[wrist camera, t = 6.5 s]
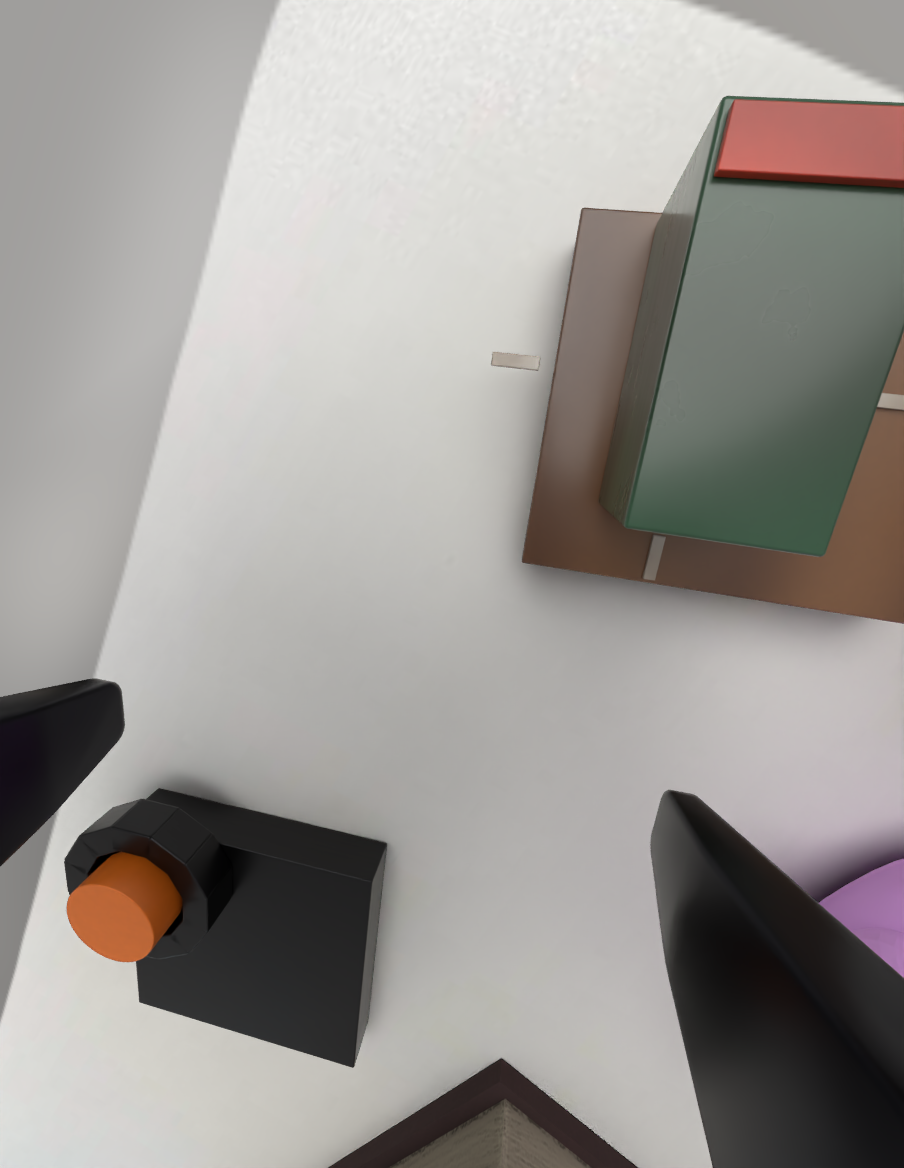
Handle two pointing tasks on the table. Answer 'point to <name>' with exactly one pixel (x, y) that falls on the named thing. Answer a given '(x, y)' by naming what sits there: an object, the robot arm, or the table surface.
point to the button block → (253, 919)
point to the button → (124, 907)
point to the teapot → (874, 911)
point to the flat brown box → (605, 547)
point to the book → (489, 1131)
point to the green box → (764, 326)
